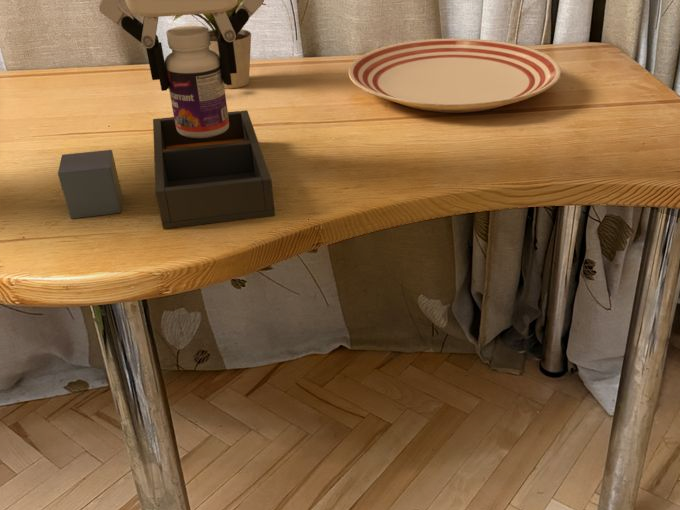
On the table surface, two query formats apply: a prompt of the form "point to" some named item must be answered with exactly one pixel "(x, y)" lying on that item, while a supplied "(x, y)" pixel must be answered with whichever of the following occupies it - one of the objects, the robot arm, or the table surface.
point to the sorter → (210, 174)
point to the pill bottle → (195, 83)
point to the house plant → (240, 48)
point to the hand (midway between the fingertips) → (196, 82)
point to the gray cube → (90, 184)
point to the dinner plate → (454, 74)
